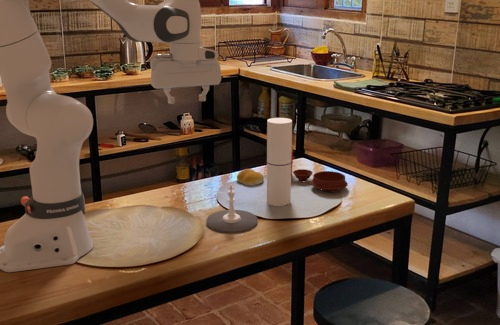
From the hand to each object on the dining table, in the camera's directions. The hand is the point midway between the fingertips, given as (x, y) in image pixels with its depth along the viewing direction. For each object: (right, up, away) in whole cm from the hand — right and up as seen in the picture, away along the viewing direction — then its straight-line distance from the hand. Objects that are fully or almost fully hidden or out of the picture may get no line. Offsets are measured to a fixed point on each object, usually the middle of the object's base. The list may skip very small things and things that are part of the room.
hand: (187, 102), depth 161 cm
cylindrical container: (+27, -29, +8) cm, 40 cm away
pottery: (+40, -25, +22) cm, 52 cm away
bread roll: (+18, -24, +26) cm, 40 cm away
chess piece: (+13, -33, -6) cm, 36 cm away
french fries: (+30, -21, +34) cm, 50 cm away
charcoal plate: (+13, -34, -6) cm, 37 cm away
